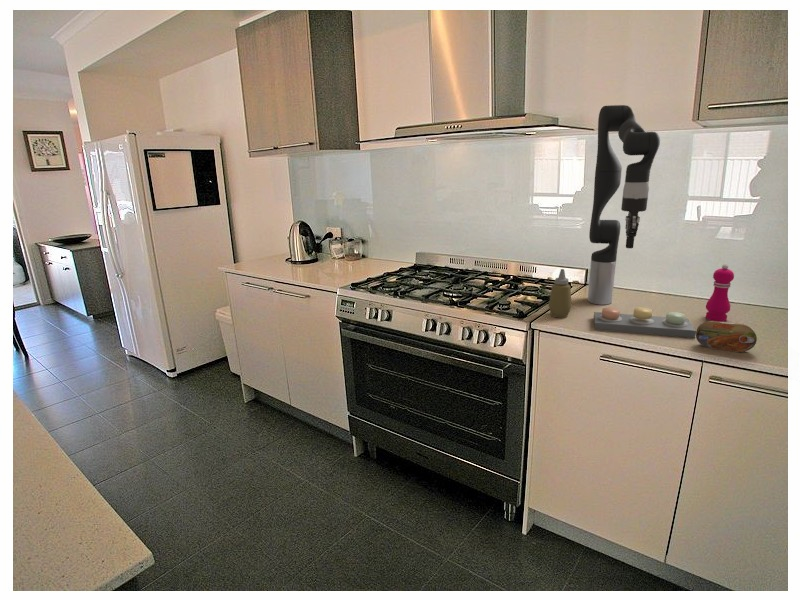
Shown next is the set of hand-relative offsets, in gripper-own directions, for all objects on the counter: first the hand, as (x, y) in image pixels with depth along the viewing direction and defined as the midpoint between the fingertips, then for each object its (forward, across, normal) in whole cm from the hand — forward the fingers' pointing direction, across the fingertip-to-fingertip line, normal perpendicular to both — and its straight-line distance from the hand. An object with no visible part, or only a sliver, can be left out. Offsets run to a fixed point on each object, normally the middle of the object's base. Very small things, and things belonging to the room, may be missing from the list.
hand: (629, 247), depth 157 cm
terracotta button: (+24, +4, -4) cm, 25 cm away
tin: (+27, +17, +27) cm, 42 cm away
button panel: (+27, +4, +6) cm, 28 cm away
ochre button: (+23, +4, +6) cm, 24 cm away
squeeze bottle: (+27, -2, -21) cm, 34 cm away
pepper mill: (+27, -12, +32) cm, 44 cm away
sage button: (+24, +4, +16) cm, 29 cm away
